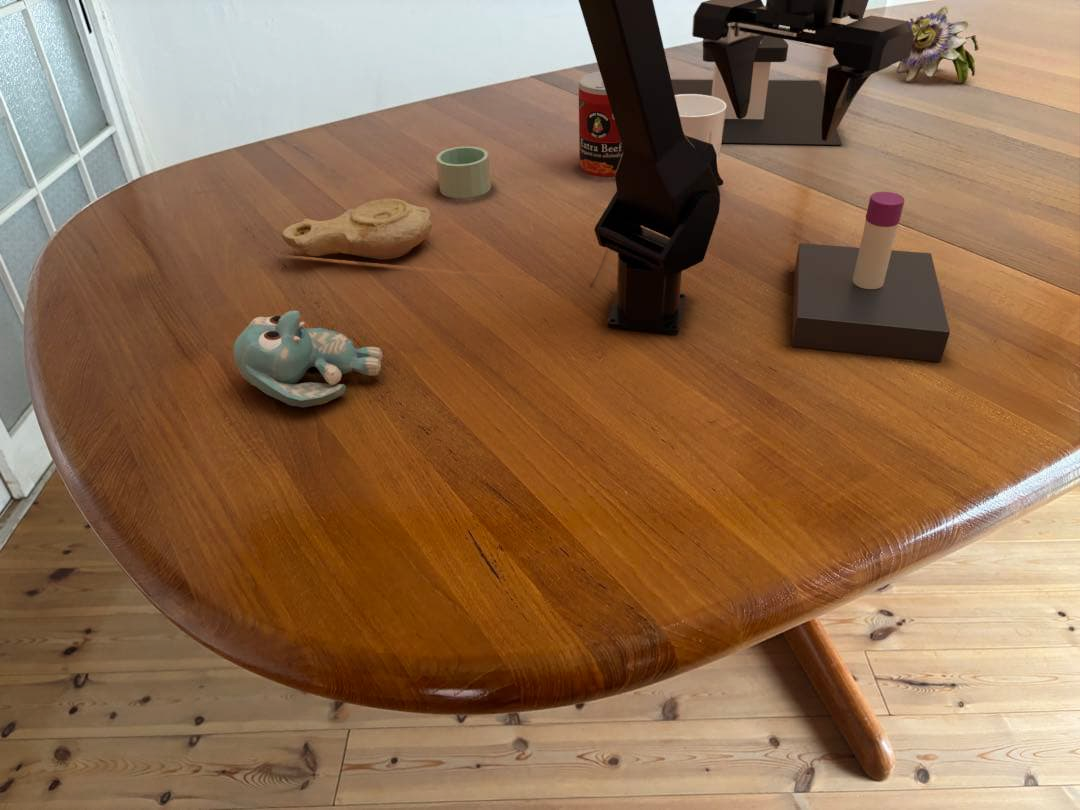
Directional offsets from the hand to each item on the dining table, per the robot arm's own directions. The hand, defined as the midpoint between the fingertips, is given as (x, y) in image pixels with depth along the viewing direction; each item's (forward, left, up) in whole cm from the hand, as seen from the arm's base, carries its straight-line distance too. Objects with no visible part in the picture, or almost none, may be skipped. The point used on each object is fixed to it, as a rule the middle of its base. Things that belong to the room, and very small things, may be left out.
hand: (782, 128), depth 77 cm
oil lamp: (-8, +41, -13) cm, 44 cm away
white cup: (+15, +10, -13) cm, 22 cm away
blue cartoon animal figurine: (-30, +36, -13) cm, 49 cm away
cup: (+10, +36, -13) cm, 40 cm away
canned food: (+20, +20, -13) cm, 31 cm away
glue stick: (-10, -9, -10) cm, 17 cm away
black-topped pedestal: (+45, +6, -13) cm, 47 cm away
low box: (-10, -9, -13) cm, 19 cm away
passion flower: (+65, -22, -13) cm, 70 cm away
